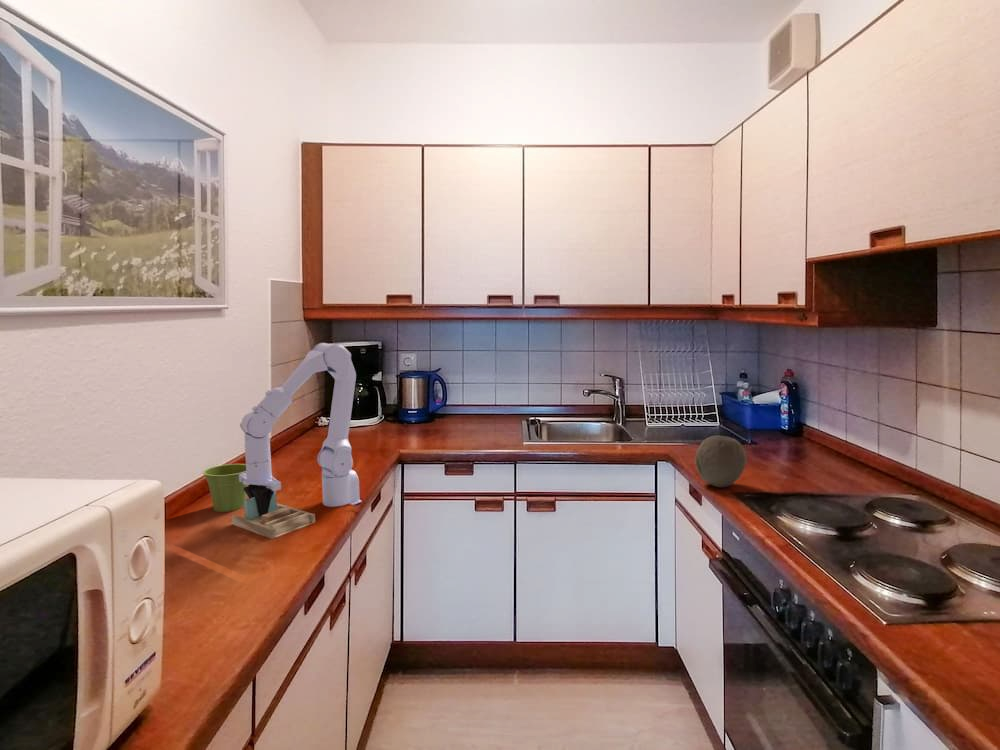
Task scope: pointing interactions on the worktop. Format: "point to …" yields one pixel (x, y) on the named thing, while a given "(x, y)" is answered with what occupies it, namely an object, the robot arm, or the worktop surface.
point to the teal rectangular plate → (251, 507)
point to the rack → (276, 523)
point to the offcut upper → (276, 514)
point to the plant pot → (226, 486)
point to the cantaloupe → (720, 460)
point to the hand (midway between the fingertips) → (261, 513)
